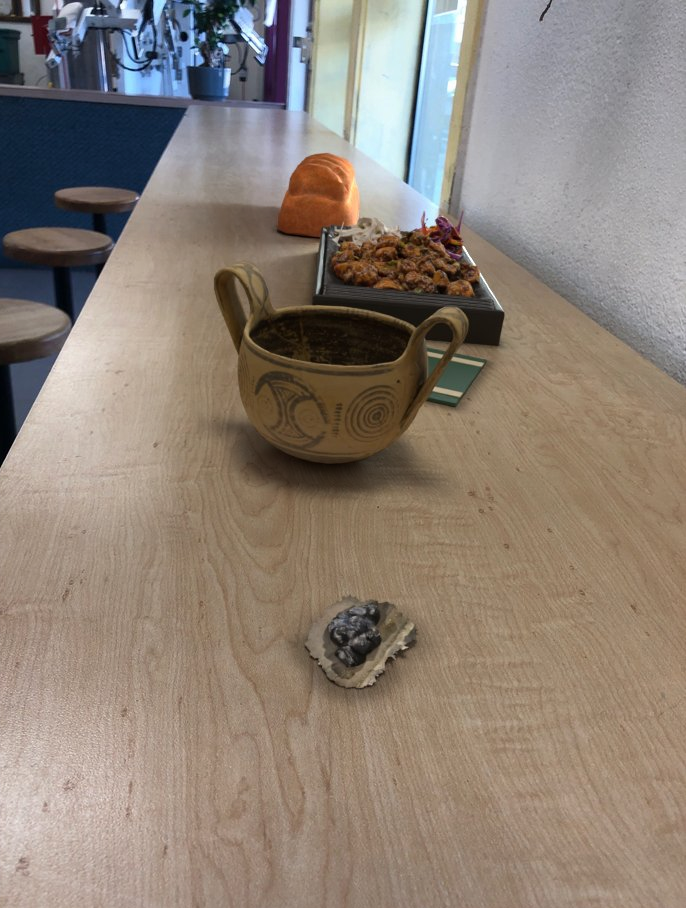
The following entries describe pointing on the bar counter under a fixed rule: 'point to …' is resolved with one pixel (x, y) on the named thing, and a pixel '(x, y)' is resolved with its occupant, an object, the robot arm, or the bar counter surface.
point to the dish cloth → (453, 376)
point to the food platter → (406, 276)
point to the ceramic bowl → (328, 370)
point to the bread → (319, 196)
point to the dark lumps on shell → (358, 639)
